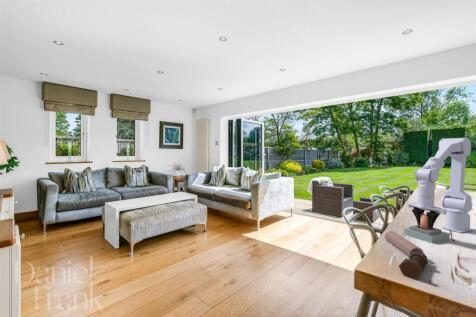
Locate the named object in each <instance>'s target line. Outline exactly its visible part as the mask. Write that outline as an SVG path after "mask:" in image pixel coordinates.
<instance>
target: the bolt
mask: <svg viewBox="0 0 476 317" xmlns="http://www.w3.org/2000/svg"><path fill="white" fill-rule="evenodd" d="M428 264H429V261H428V256H427V255H426V254H425V253H424V254H423V253H421V252H414V253H413V254H412V255H411V256H410V257H409V256H408V258H404V259H403V260H402V261H401V263H400V264H399V265H398V267H399V270H400V272H401V273H402V275H403V276H404V277H406V278H409V279H411V278H412V280H418V279H419V278H420V277H421V276H422V274H424V271H423V269H424V268H425V267H426V266H427V265H428Z"/></svg>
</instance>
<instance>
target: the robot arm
mask: <svg viewBox="0 0 476 317" xmlns="http://www.w3.org/2000/svg"><path fill="white" fill-rule="evenodd" d="M471 150H472V142H471V139H469V138H468V137H456V138H455V137H454V138H451V137H450V138H443V137H442V138H441V139H440V140H439V142H438V150H437V151H436V154H435V155H434V156H433V157H430V158H428V160H427V161H426V163H425V164H424V165H423V166H422V167H421V168H418V169H417V170H416V171H415V174H414V177H415V180H416V182H415V184H416V185H417V202H416V203H415V202H412V201H411V202H410V201H409V202H407V203H406V206H407V207H408V208H412V209H411V211H412V212H411V213H413V215H414V217H415V219H416V220H415V221H416V223H417V225H419V226H420V214H427V217H428V228H434V225H435V223H436V220H437V219H438V218H439V216H440V215H443V216H444V215H445V225H443V226H440V227H441V228H442V229H445V230H449V231H453V232H457V233H461V234H463V233H466V232H471V231H473V229H472V228H471V216H470V214H469V212H471V210H472V208H473V202H472V196H471V195H470V194H468V193H467V192H466V191H465V176H466V175H465V174H466V162H467V157H468V156H471ZM448 157H450V158H451V161H450V162H451V166H450V178H449V190H447V191H445V192H444V193H443V194H442V197H441V200H440V204H441V206H442V207H437V206H435V195H436V194H435V192H436V191H435V188H436V185H435V184H436V182H437V181H438V180H439V175H440V171H441V170H442V168H443V167H444V166H445V160H446V159H447V158H448ZM425 211H426V212H425Z"/></svg>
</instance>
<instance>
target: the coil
mask: <svg viewBox="0 0 476 317" xmlns="http://www.w3.org/2000/svg"><path fill="white" fill-rule="evenodd" d="M384 239H385V241H387V242H388V243H390V244H391V245H393V246H394V247H395V248H396V249H398V250H400V251H401V252H402V253H403V254H405V255H406V256H408V258H409V257H410V256H411V255H412V254H413V253H414V252H421V253H423V254H425V252H424V250H423V249H422V248H421V247H419V246H418V245H416V244H414V243H412V241H410V240H408V239H406V238H405V237H403V236H402V235H400V234H399V233H398V232H395V231H392V230H388V231H386V232H385V233H384Z"/></svg>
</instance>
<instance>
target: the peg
mask: <svg viewBox="0 0 476 317" xmlns="http://www.w3.org/2000/svg"><path fill="white" fill-rule="evenodd" d="M420 228H421V229H424V230H431V228H428V217H427V213H424V214H420Z"/></svg>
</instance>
